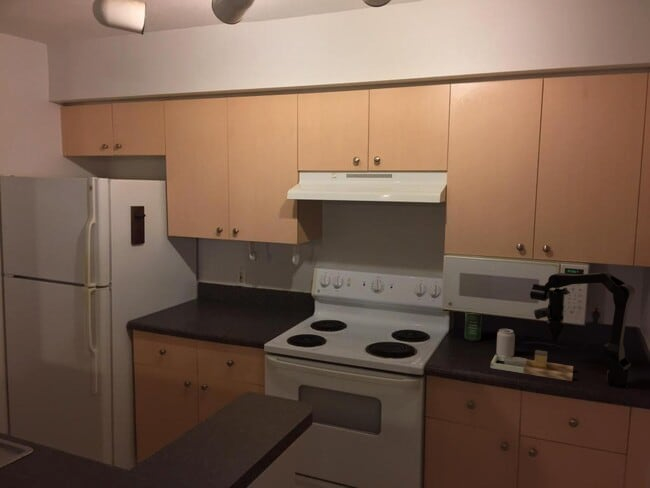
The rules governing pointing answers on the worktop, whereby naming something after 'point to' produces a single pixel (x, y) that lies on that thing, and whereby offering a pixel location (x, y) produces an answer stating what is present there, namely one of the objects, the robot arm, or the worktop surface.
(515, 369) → the tray
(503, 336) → the can
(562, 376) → the slot board
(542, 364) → the yellow wooden block
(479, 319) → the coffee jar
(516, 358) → the chip
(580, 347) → the worktop surface
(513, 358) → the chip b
